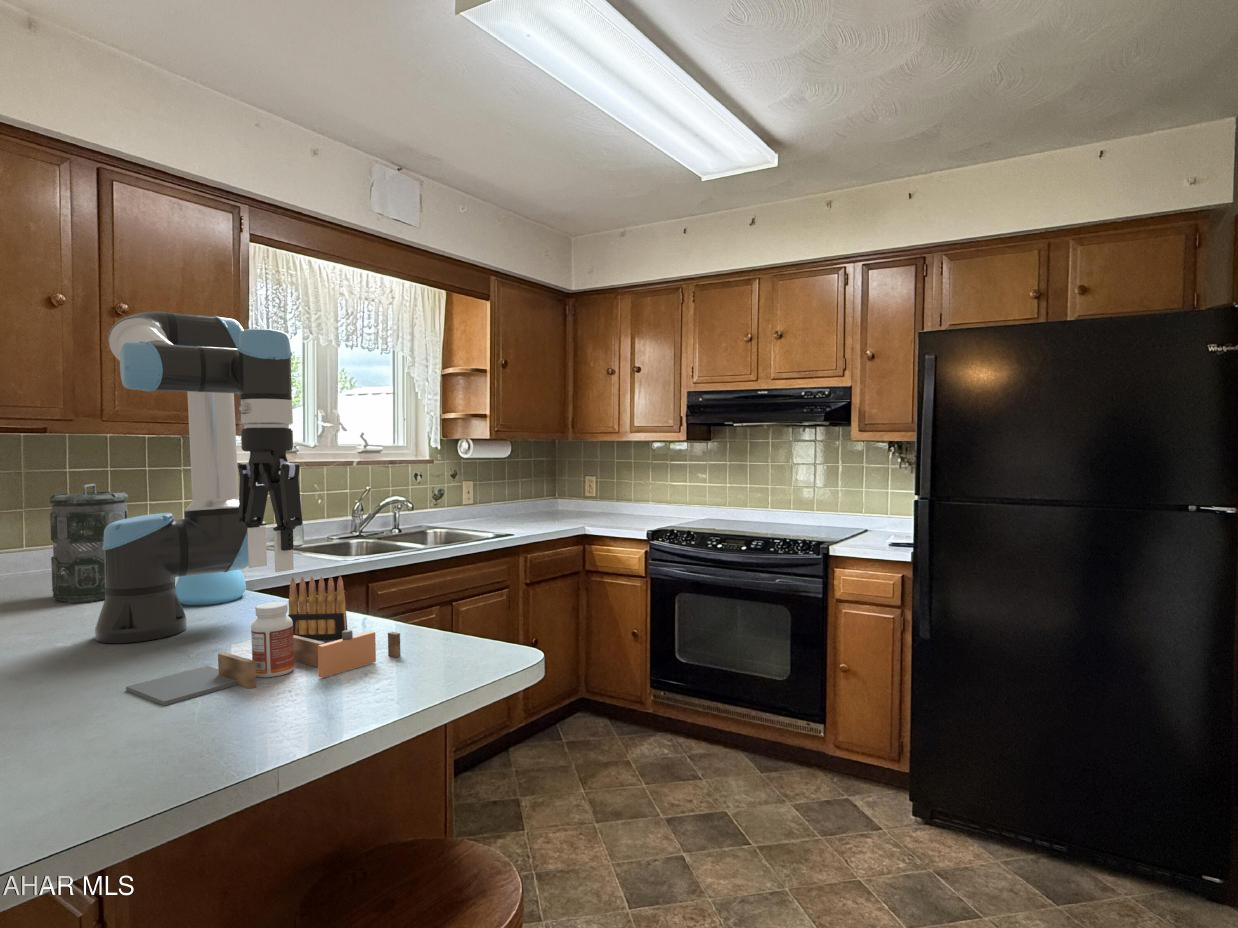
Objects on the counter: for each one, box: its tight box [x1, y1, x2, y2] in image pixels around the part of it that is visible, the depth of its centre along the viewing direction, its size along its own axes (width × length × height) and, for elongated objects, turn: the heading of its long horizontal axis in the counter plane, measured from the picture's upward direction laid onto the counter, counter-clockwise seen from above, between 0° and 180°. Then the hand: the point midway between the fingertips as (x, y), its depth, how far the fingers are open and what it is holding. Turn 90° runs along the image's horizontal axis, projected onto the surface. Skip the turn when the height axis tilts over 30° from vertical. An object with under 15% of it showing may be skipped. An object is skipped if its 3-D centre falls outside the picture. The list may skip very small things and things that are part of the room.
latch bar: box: [317, 629, 377, 679], centre depth 119 cm, size 2×10×6 cm, turn 146°
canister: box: [49, 483, 130, 604], centre depth 180 cm, size 16×16×28 cm
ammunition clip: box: [287, 575, 348, 642], centre depth 138 cm, size 11×2×12 cm, turn 93°
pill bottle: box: [250, 601, 295, 679], centre depth 118 cm, size 6×6×11 cm
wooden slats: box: [217, 631, 401, 689], centre depth 121 cm, size 15×24×4 cm, turn 146°
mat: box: [125, 665, 238, 706], centre depth 112 cm, size 12×12×1 cm
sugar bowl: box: [175, 569, 247, 606], centre depth 175 cm, size 15×15×12 cm
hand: (270, 568), depth 118 cm, fingers open, 7 cm apart
